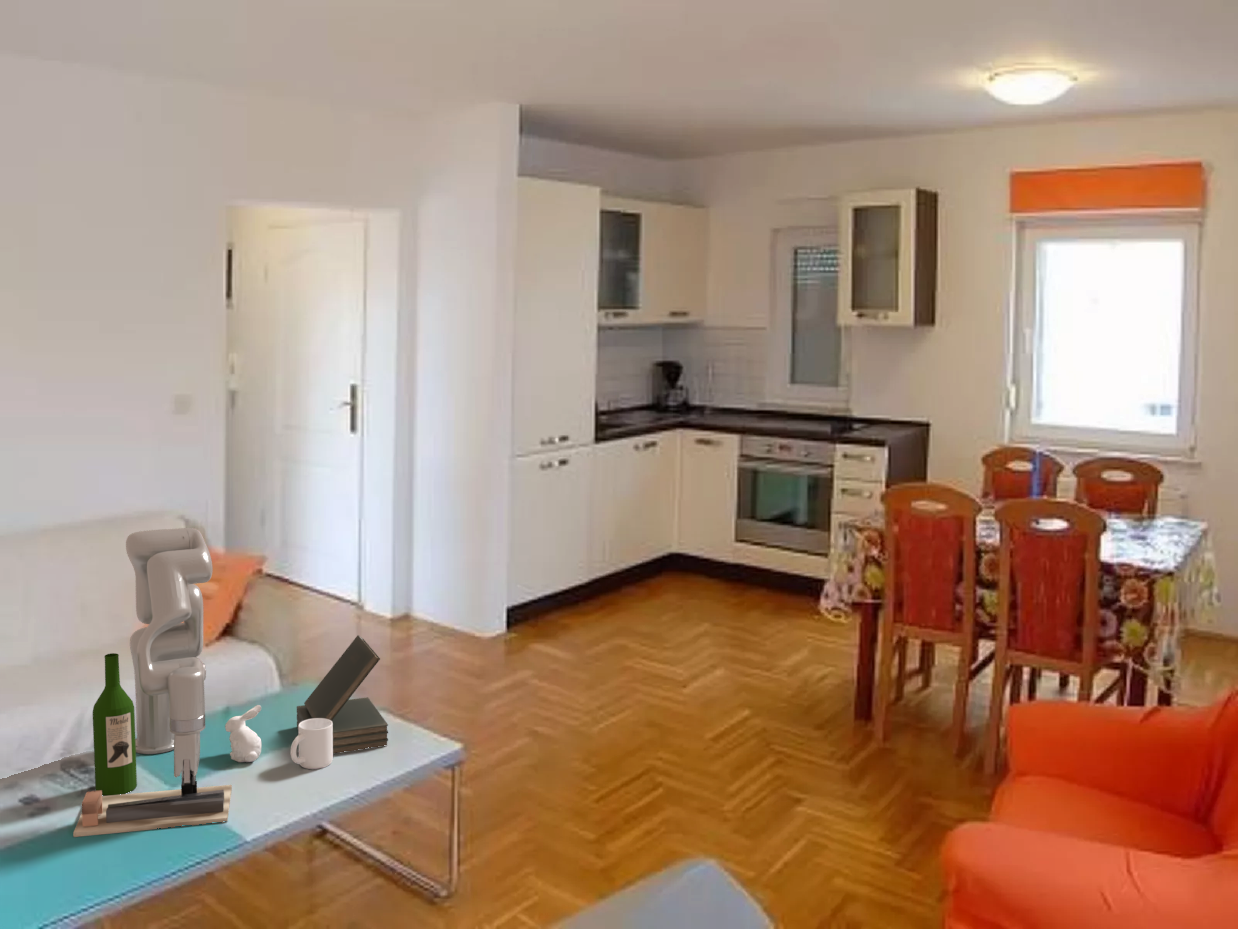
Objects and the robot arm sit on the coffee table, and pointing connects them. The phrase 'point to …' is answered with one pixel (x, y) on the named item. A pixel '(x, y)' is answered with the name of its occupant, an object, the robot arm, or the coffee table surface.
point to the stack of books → (348, 701)
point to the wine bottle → (114, 735)
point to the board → (152, 821)
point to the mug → (314, 743)
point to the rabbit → (244, 737)
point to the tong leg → (173, 798)
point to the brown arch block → (91, 808)
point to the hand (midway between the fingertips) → (189, 799)
